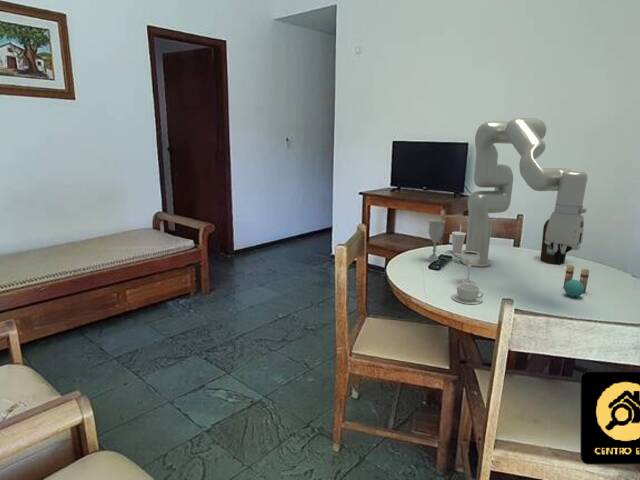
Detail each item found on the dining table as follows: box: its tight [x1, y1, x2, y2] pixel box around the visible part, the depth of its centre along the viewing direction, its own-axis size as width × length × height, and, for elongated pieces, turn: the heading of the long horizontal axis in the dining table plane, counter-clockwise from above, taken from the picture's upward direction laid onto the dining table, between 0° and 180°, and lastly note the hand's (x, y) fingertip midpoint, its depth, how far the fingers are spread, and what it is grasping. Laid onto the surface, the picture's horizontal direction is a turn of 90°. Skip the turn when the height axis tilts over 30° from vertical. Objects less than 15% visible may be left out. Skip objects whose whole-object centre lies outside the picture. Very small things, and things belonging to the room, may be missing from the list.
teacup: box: [451, 282, 484, 305], centre depth 146 cm, size 10×10×5 cm
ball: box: [563, 279, 584, 298], centre depth 149 cm, size 6×6×6 cm
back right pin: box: [579, 268, 590, 294], centre depth 153 cm, size 2×2×8 cm
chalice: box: [427, 219, 446, 263], centre depth 186 cm, size 7×7×18 cm
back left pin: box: [563, 265, 575, 289], centre depth 157 cm, size 2×2×8 cm
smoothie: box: [451, 223, 467, 254], centre depth 200 cm, size 6×6×14 cm
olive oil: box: [540, 218, 563, 265], centre depth 188 cm, size 11×11×25 cm
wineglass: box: [460, 249, 480, 285], centre depth 161 cm, size 7×7×12 cm
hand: (558, 263), depth 142 cm, fingers closed
